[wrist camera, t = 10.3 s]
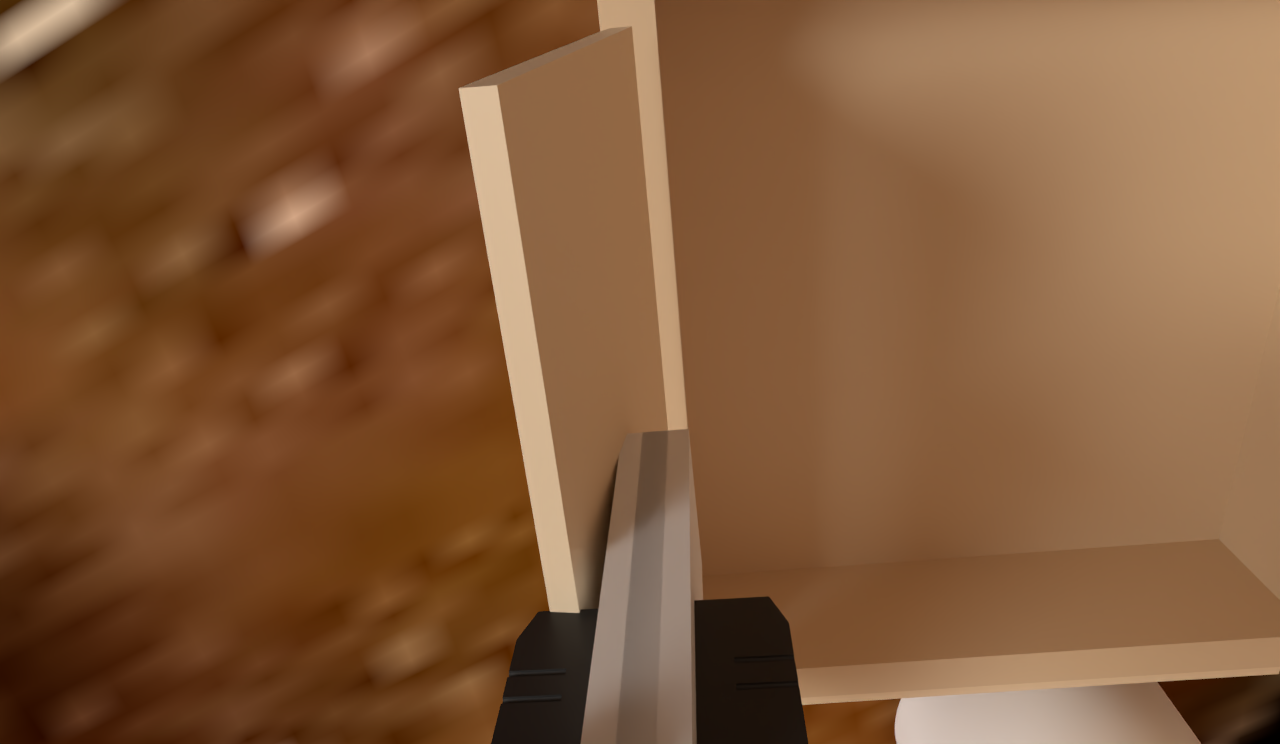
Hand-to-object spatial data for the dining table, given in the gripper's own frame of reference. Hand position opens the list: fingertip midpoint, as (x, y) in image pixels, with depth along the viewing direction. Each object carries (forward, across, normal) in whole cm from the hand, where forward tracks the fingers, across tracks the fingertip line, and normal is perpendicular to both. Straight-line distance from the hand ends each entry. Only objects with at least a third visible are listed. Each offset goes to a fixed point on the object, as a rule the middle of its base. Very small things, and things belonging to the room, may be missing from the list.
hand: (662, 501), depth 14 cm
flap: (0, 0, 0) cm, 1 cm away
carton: (+9, +8, 0) cm, 12 cm away
